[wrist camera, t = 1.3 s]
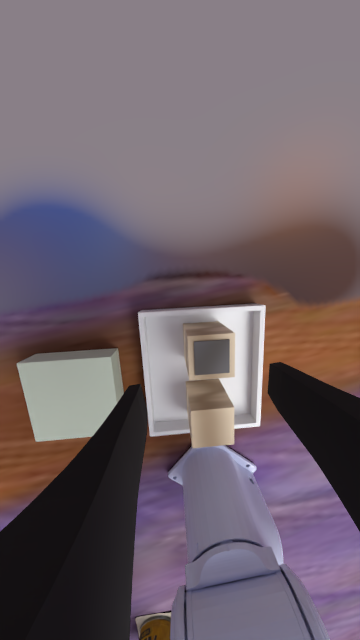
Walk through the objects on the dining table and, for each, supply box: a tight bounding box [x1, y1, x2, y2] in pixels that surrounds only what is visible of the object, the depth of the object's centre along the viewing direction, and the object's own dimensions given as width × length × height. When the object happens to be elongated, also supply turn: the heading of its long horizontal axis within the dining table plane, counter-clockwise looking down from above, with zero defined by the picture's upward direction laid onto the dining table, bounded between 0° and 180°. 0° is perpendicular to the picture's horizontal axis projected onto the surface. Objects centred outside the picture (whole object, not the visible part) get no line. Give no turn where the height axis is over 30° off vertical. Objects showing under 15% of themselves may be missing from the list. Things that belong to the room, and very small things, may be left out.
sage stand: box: [17, 348, 124, 442], centre depth 19 cm, size 9×9×2 cm
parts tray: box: [138, 304, 266, 437], centre depth 20 cm, size 14×13×2 cm
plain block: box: [186, 379, 234, 448], centre depth 18 cm, size 4×4×5 cm
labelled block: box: [183, 321, 235, 381], centre depth 17 cm, size 4×4×5 cm
